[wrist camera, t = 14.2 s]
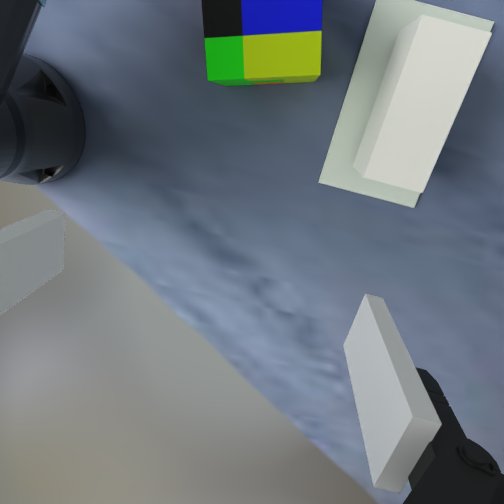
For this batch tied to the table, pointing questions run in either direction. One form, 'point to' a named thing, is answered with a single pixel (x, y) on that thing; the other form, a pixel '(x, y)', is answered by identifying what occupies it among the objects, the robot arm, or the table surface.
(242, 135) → the table surface
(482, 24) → the plate
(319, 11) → the puzzle toy
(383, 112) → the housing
